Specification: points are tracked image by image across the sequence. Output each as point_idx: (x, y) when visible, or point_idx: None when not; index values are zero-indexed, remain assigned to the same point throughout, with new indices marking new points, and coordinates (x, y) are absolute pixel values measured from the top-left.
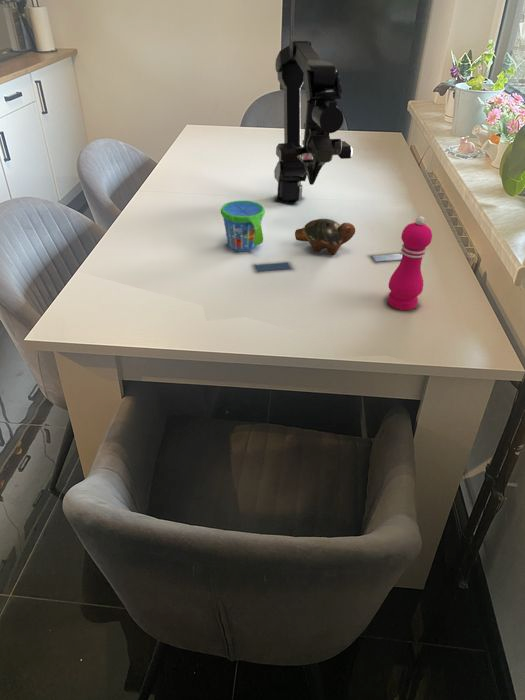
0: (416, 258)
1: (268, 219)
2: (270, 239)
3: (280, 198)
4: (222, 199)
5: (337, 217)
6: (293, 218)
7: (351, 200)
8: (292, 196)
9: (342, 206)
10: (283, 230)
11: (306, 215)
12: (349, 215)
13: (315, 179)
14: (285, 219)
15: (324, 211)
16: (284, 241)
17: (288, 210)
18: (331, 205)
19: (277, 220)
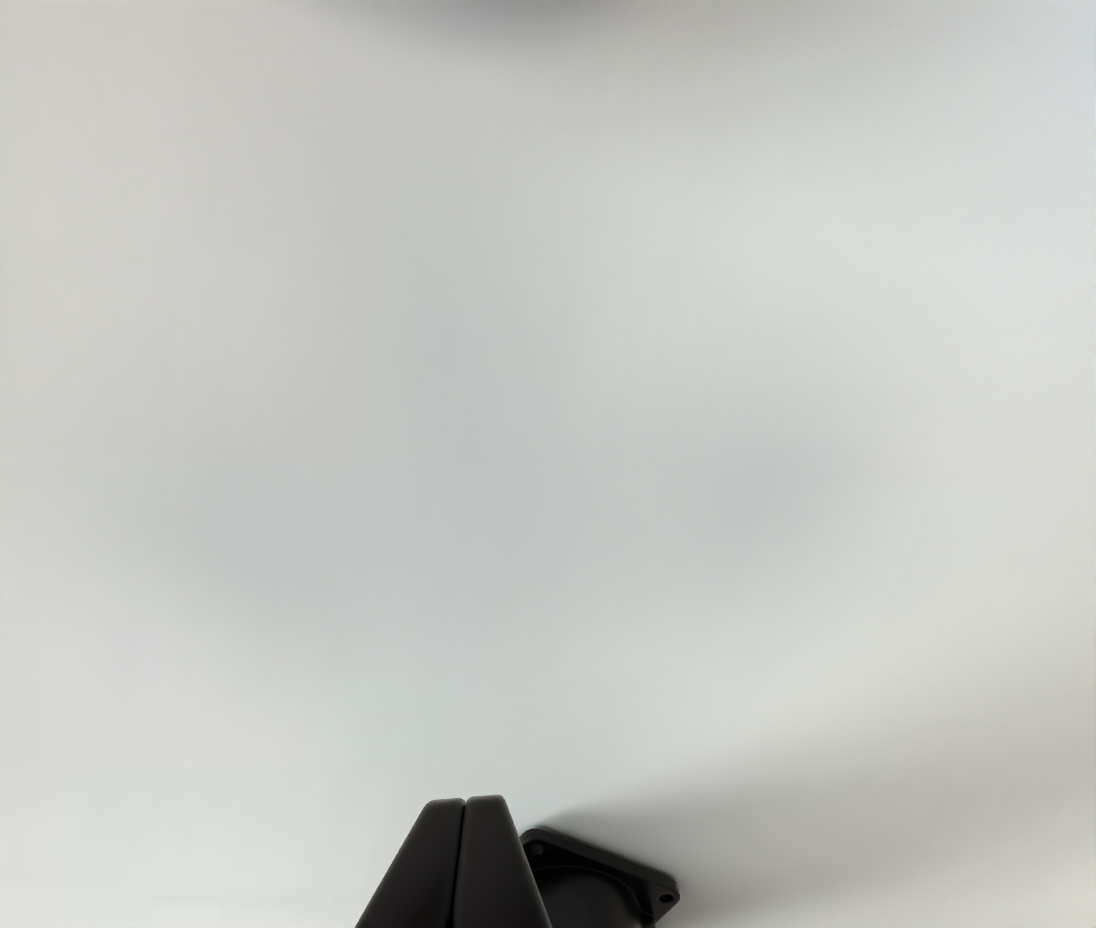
0: None
1: (852, 582)
2: (1029, 90)
3: (636, 903)
4: (1077, 906)
5: (146, 598)
6: (602, 593)
7: (10, 886)
8: (546, 908)
9: (93, 795)
10: (788, 331)
11: (460, 646)
12: (18, 634)
13: (365, 919)
14: (687, 576)
15: (272, 714)
16: (881, 10)
17: (608, 738)
18: (196, 812)
19: (772, 559)
